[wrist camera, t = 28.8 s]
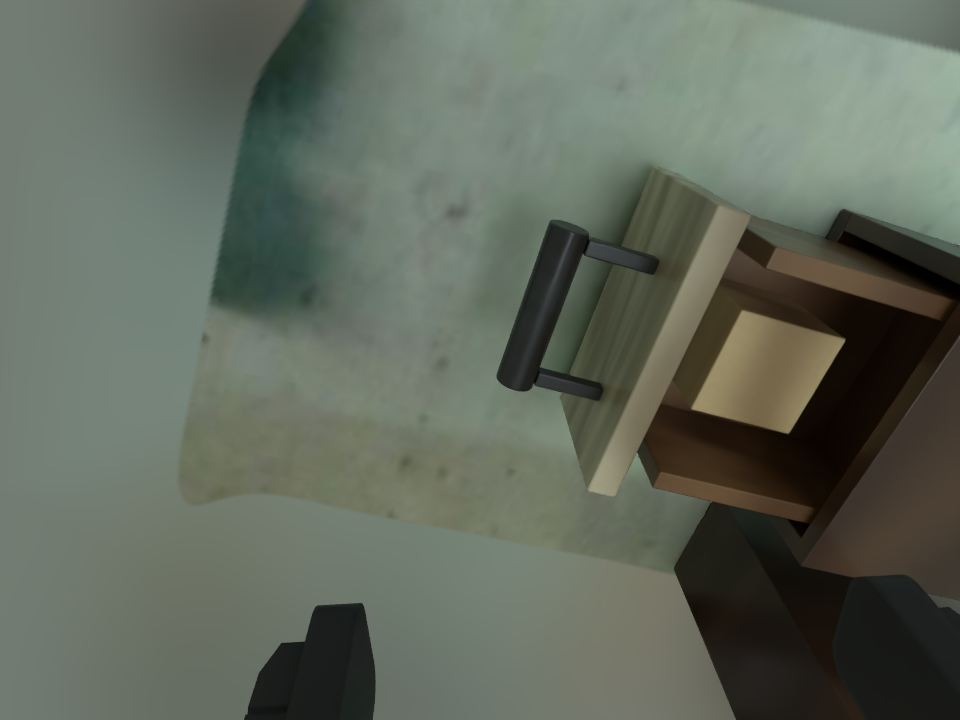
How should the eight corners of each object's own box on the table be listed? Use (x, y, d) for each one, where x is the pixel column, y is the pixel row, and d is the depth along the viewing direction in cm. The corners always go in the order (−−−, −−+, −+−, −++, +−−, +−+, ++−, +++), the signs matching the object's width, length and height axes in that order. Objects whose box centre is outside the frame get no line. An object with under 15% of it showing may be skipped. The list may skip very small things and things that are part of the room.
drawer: (475, 376, 30) (480, 468, 23) (555, 134, 25) (589, 164, 19) (802, 457, 33) (888, 560, 26) (931, 252, 28) (1076, 315, 21)
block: (658, 360, 28) (690, 409, 25) (700, 271, 27) (742, 309, 23) (744, 383, 29) (789, 435, 25) (791, 297, 27) (847, 339, 23)
